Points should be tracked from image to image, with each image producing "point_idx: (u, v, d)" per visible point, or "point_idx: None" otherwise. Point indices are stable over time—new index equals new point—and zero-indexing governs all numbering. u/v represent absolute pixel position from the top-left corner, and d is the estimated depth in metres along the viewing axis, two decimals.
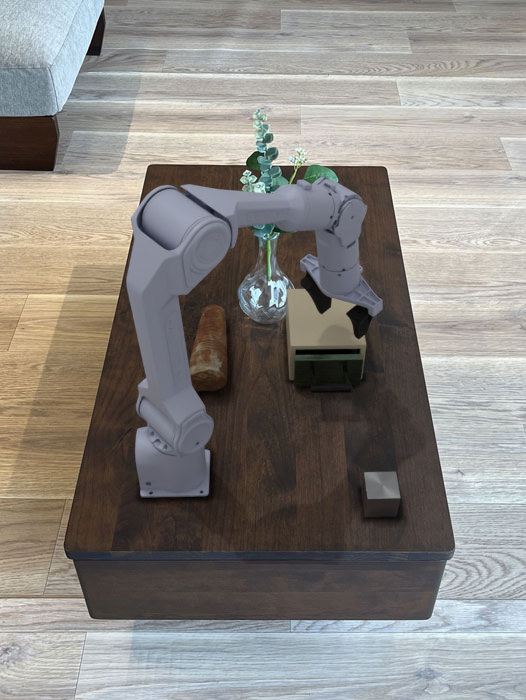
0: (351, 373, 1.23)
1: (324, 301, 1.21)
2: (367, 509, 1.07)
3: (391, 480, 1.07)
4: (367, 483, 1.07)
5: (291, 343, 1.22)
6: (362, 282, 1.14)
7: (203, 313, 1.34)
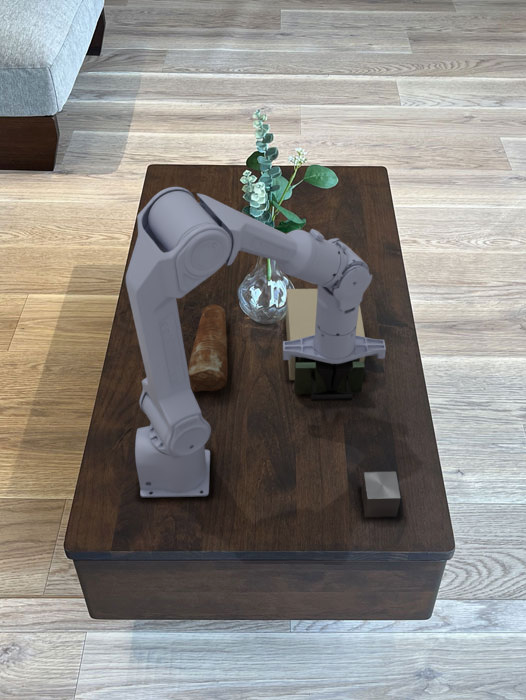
0: (352, 381, 1.22)
1: None
2: (367, 509, 1.07)
3: (391, 480, 1.07)
4: (367, 483, 1.07)
5: None
6: None
7: (203, 313, 1.34)
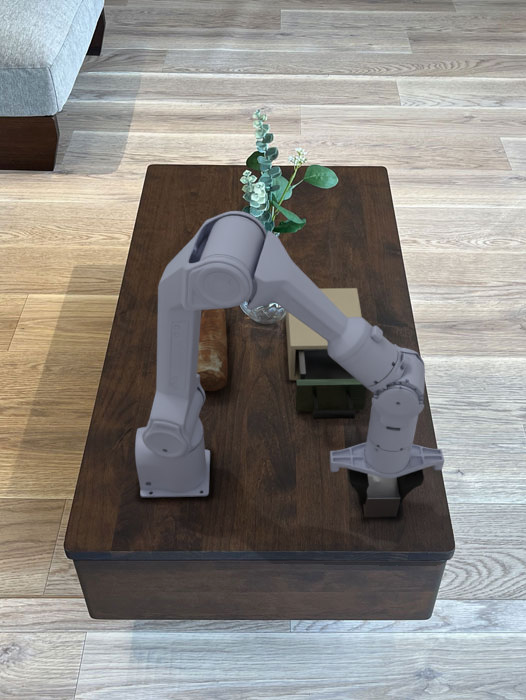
0: (354, 398, 1.19)
1: None
2: (367, 509, 1.07)
3: (391, 480, 1.07)
4: None
5: (291, 343, 1.22)
6: None
7: (203, 313, 1.34)
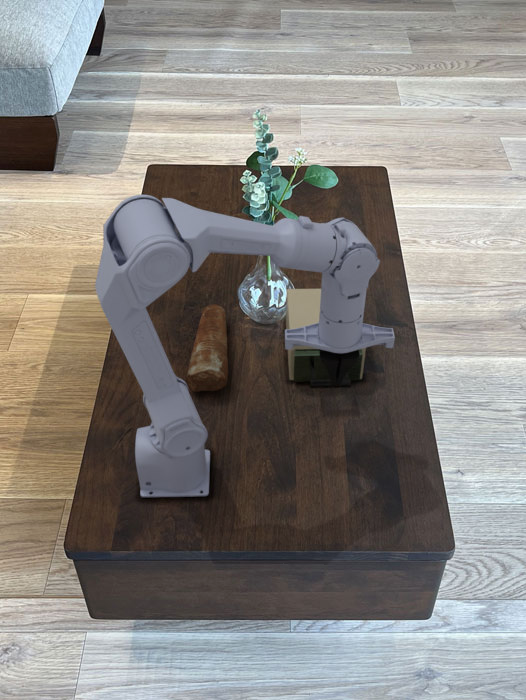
0: (350, 368, 1.24)
1: None
2: None
3: None
4: None
5: None
6: None
7: (203, 313, 1.34)
